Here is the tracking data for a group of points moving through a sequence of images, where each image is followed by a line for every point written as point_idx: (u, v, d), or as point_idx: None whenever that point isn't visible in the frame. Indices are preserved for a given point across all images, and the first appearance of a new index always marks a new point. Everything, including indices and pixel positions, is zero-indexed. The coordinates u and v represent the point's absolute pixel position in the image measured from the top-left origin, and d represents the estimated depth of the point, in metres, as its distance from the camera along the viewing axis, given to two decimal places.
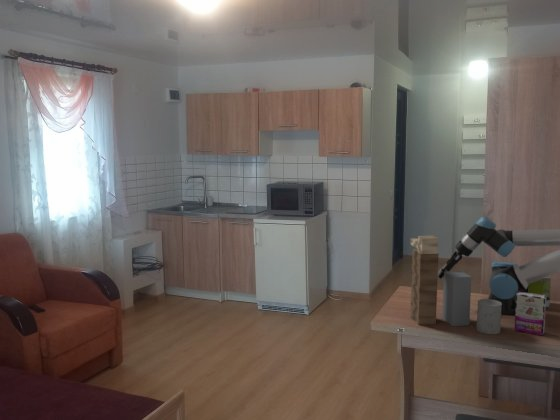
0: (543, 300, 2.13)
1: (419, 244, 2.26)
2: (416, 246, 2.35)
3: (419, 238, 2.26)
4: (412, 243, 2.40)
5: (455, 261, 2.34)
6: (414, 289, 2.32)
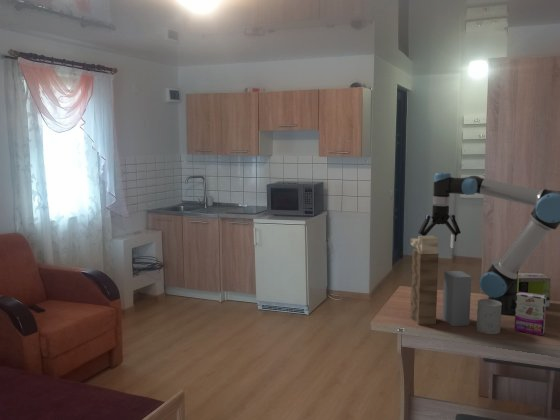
0: (543, 300, 2.13)
1: (419, 244, 2.26)
2: (416, 246, 2.35)
3: (419, 238, 2.26)
4: (412, 243, 2.40)
5: (426, 220, 2.47)
6: (414, 289, 2.32)
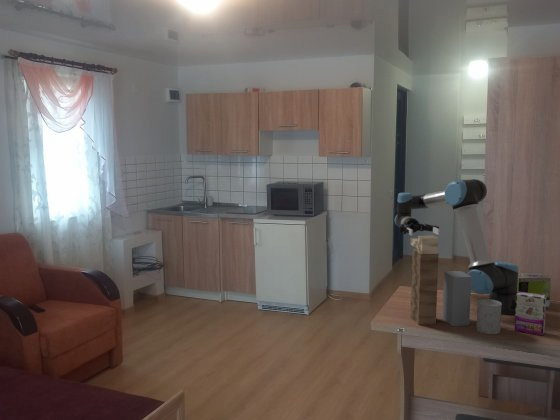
0: (543, 300, 2.13)
1: (419, 244, 2.26)
2: (416, 246, 2.35)
3: (419, 238, 2.26)
4: (412, 243, 2.40)
5: (401, 226, 2.63)
6: (414, 289, 2.32)
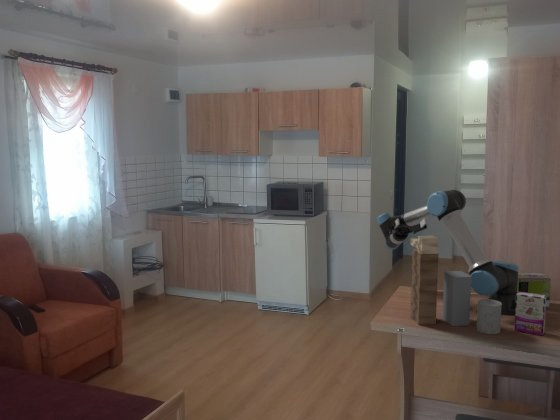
0: (543, 300, 2.13)
1: (419, 244, 2.26)
2: (416, 246, 2.35)
3: (419, 238, 2.26)
4: (412, 243, 2.40)
5: None
6: (414, 289, 2.32)
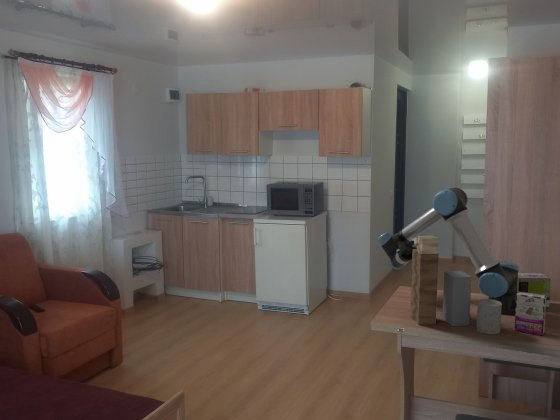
0: (543, 300, 2.13)
1: (419, 244, 2.26)
2: (416, 246, 2.35)
3: (419, 238, 2.26)
4: None
5: (399, 248, 2.46)
6: (414, 289, 2.32)
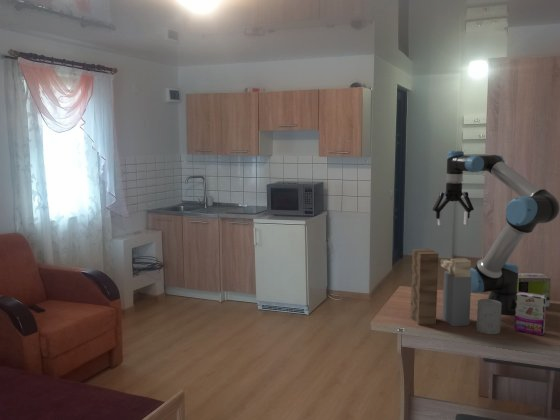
0: (543, 300, 2.13)
1: (452, 267, 2.26)
2: (447, 268, 2.35)
3: (452, 261, 2.26)
4: (443, 265, 2.40)
5: (439, 197, 2.54)
6: (414, 289, 2.32)
